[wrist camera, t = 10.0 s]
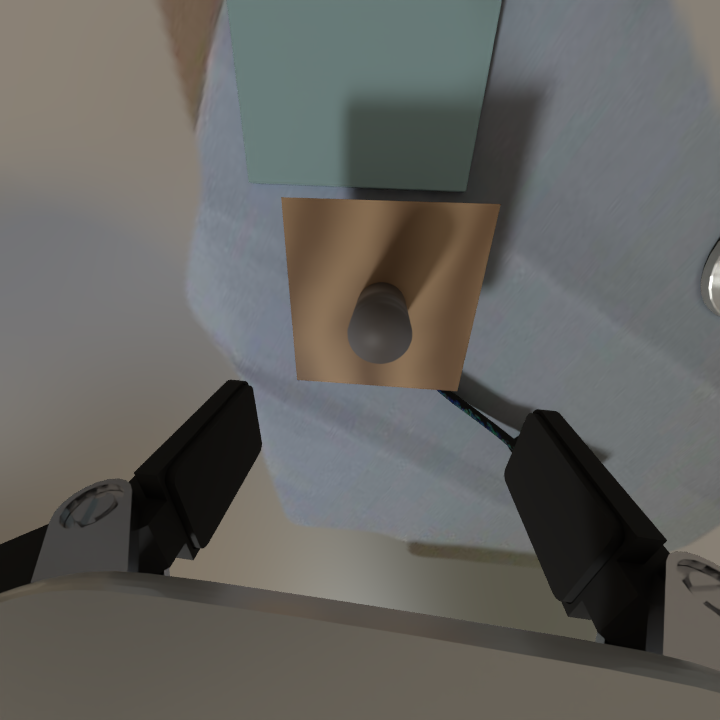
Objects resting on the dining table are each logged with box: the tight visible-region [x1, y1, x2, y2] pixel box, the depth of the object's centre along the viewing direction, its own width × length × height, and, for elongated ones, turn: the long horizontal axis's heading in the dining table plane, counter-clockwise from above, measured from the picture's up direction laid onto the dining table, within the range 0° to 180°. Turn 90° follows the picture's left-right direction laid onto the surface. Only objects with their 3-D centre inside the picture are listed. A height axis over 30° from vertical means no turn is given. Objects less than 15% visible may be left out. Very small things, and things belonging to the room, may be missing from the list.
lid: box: [281, 197, 501, 391], centre depth 20 cm, size 15×15×7 cm
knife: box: [437, 390, 518, 452], centre depth 36 cm, size 31×3×4 cm, turn 51°
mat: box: [227, 0, 502, 192], centre depth 22 cm, size 20×16×1 cm
